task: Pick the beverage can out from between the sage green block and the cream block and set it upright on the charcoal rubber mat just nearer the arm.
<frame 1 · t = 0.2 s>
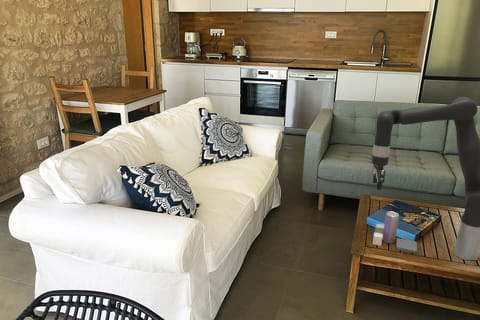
hand: (376, 186, 187), 28 cm above the table, tool pointing down, fingers open, 8 cm apart
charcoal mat: (406, 246, 189), on the table
cream block: (377, 243, 192), on the table
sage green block: (379, 233, 201), on the table
beverage can: (388, 241, 194), on the table
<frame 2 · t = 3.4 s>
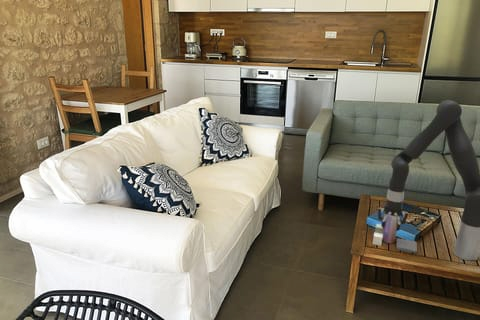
hand: (390, 229, 192), 7 cm above the table, tool pointing down, fingers closed on beverage can, 6 cm apart
beverage can: (388, 241, 194), on the table, touching gripper
everything else where it was.
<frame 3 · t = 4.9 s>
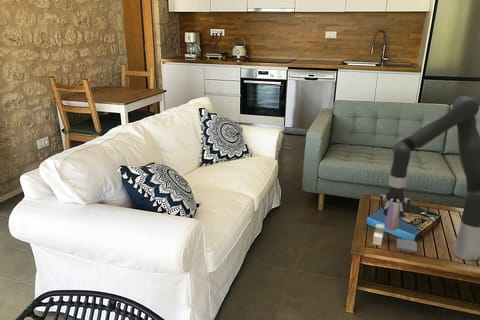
hand: (392, 216, 189), 14 cm above the table, tool pointing down, fingers closed on beverage can, 6 cm apart
beverage can: (390, 228, 191), point 7 cm above the table, touching gripper
everything else where it was.
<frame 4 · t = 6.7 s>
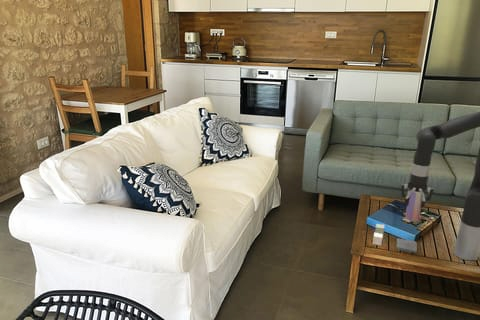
hand: (413, 206, 182), 22 cm above the table, tool pointing down, fingers closed on beverage can, 6 cm apart
beverage can: (411, 219, 184), point 15 cm above the table, touching gripper
everything else where it was.
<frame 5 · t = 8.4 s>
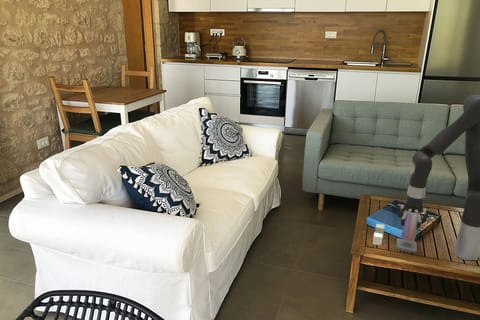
hand: (409, 226, 186), 11 cm above the table, tool pointing down, fingers closed on beverage can, 6 cm apart
beverage can: (407, 238, 188), point 4 cm above the table, touching gripper
everything else where it was.
when the fingers open (9 cm above the table, at t = 9.8 s): beverage can drops 1 cm, resting on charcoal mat.
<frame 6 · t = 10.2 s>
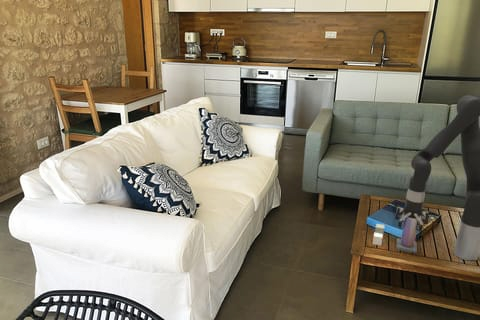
hand: (409, 229, 186), 10 cm above the table, tool pointing down, fingers open, 8 cm apart
beverage can: (407, 244, 189), point 1 cm above the table, touching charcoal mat
everything else where it was.
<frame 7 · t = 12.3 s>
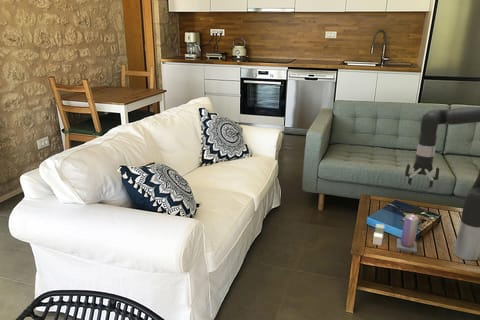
hand: (419, 186, 185), 30 cm above the table, tool pointing down, fingers open, 8 cm apart
nothing on the table moved.
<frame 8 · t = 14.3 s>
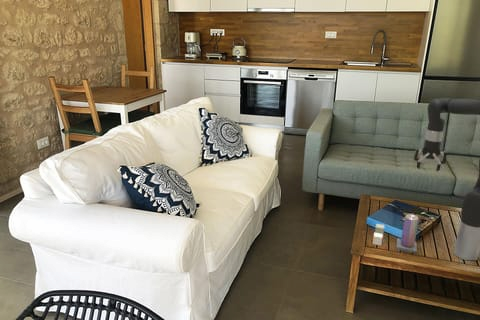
hand: (427, 169, 196), 33 cm above the table, tool pointing down, fingers open, 8 cm apart
nothing on the table moved.
at the end: beverage can 0.2 cm off-centre on the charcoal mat, point 1.0 cm above the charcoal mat's base; beverage can tilted 0°; the gripper is holding nothing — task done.
